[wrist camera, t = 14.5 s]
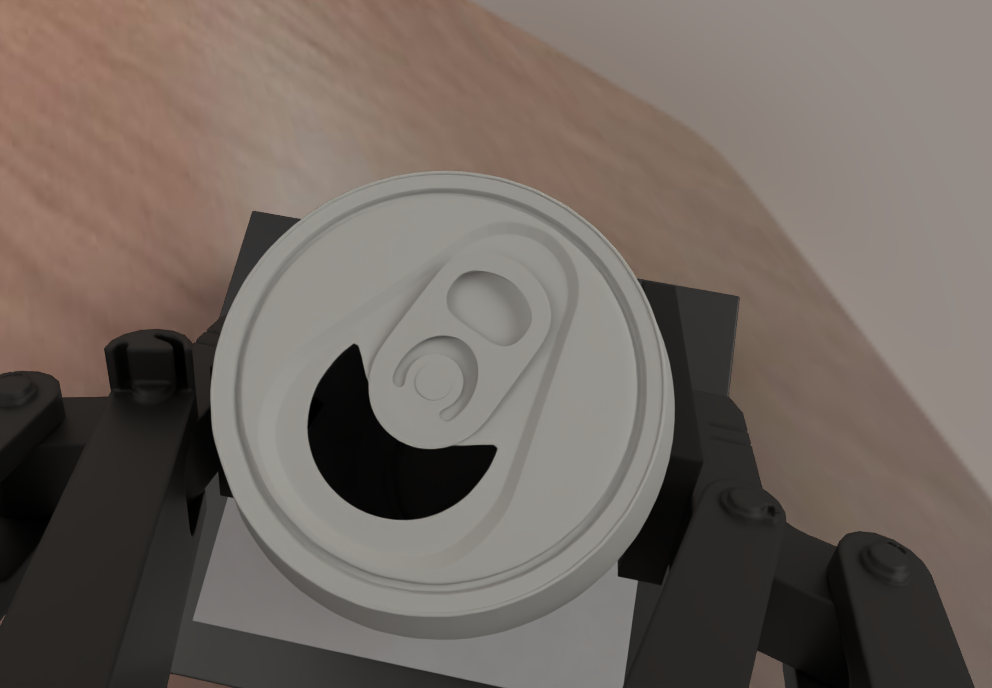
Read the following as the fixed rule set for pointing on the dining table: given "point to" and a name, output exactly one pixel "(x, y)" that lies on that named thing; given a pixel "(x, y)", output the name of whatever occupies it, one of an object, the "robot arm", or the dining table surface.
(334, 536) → the beverage can
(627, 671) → the cup warmer
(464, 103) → the dining table surface
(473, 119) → the dining table surface
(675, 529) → the robot arm
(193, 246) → the dining table surface
